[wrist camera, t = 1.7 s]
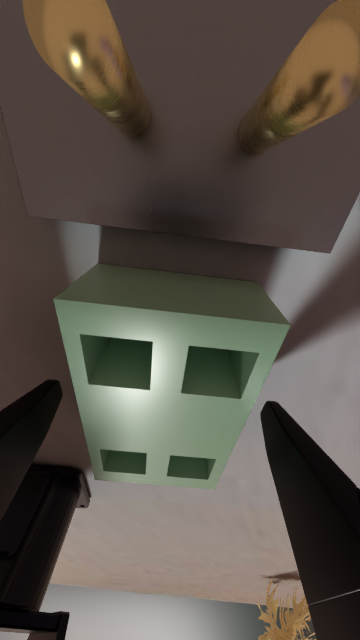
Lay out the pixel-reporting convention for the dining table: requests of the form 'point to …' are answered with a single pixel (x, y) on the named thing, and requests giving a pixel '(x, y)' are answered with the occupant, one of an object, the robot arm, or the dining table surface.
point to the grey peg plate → (186, 115)
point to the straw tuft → (275, 636)
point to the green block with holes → (165, 369)
